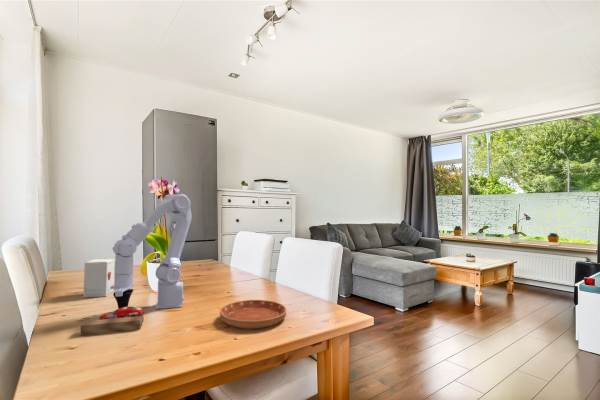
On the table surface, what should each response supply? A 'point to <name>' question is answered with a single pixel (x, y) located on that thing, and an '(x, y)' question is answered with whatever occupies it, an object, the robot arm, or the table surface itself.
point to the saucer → (253, 313)
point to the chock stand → (111, 325)
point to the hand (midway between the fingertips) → (123, 311)
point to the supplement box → (98, 277)
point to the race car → (123, 313)
